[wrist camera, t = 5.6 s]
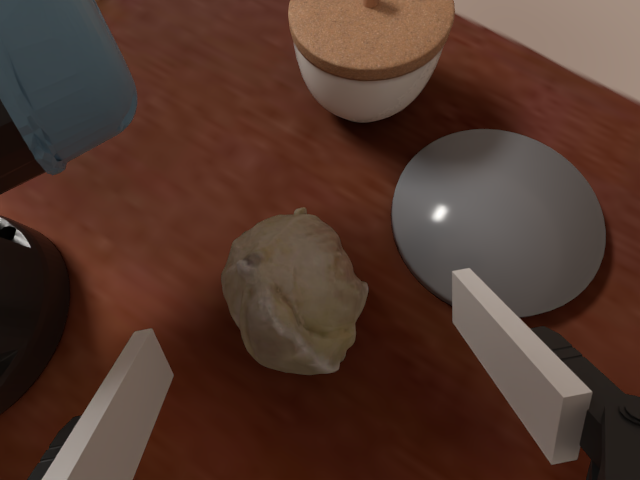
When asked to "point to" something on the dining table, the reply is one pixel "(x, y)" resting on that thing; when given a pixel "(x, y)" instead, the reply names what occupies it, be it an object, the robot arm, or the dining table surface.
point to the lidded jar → (368, 52)
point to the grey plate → (499, 219)
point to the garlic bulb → (293, 294)
